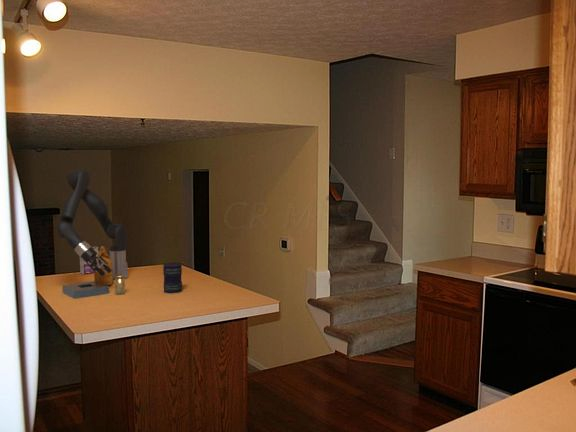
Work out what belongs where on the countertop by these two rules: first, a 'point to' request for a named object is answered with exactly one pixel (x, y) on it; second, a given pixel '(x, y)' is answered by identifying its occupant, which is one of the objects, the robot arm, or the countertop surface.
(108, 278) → the coffee package
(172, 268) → the storage jar
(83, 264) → the candy bar box
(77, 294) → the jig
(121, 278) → the brass mushroom peg
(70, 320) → the countertop surface
